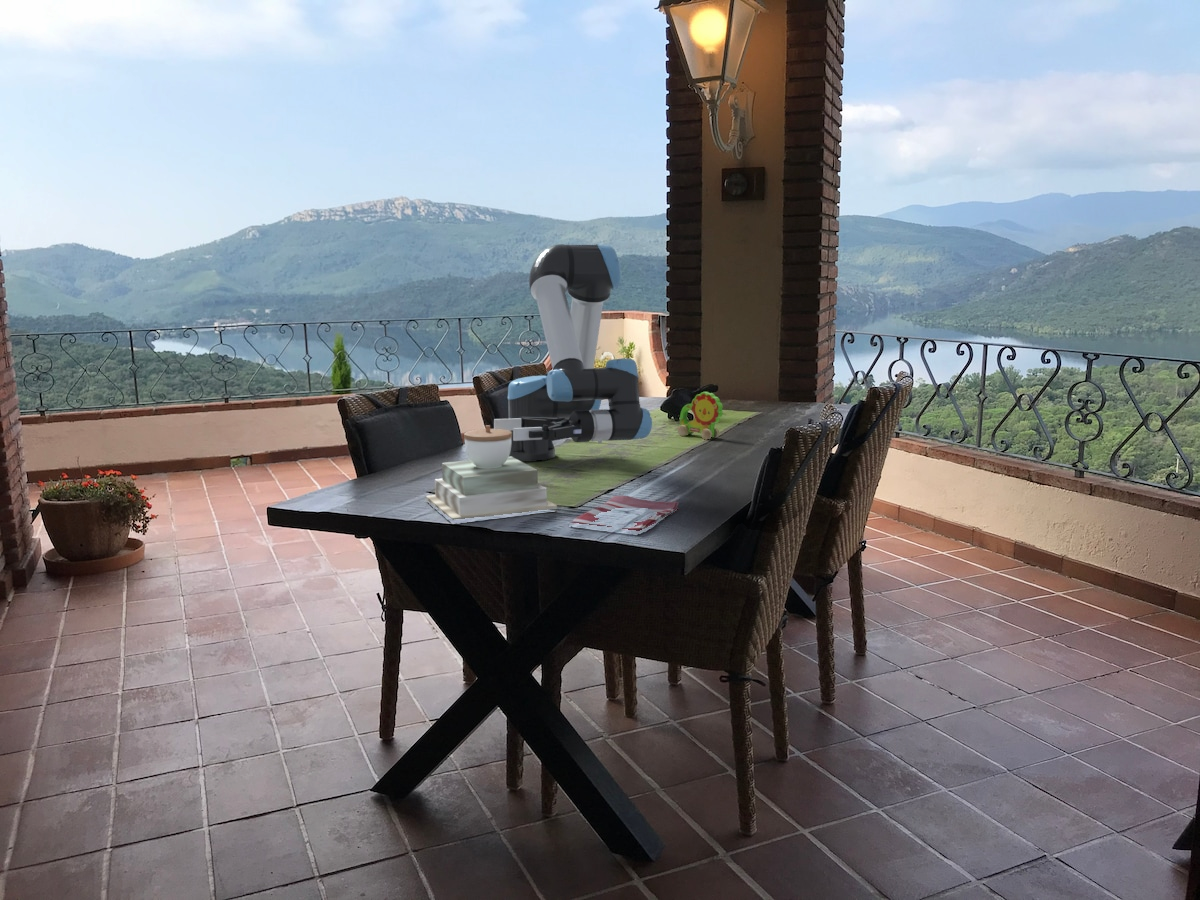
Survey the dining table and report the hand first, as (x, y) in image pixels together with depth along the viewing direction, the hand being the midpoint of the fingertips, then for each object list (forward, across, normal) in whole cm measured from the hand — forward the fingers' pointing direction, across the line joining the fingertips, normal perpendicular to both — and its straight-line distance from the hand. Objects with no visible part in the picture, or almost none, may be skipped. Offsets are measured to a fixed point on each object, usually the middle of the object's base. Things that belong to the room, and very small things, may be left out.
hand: (503, 429), depth 199 cm
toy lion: (-87, +56, -15) cm, 105 cm away
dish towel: (-21, -22, -18) cm, 35 cm away
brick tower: (+3, 0, -18) cm, 18 cm away
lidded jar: (+3, 0, -8) cm, 9 cm away
